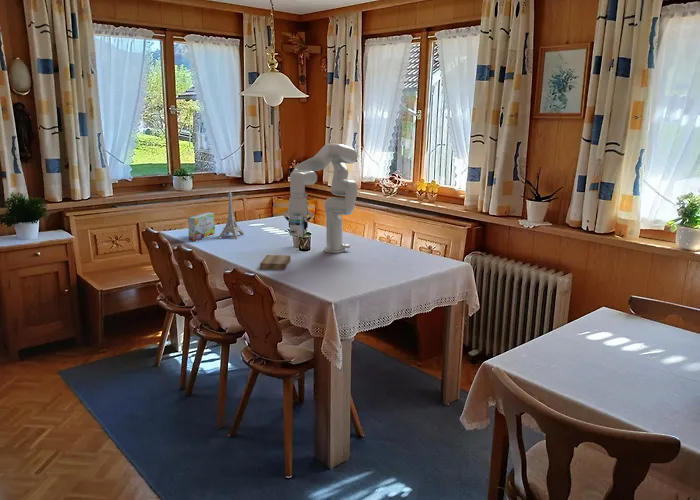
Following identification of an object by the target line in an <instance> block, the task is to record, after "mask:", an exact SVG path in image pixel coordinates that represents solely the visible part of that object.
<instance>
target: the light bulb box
mask: <svg viewBox="0 0 700 500" xmlns="http://www.w3.org/2000/svg"><path fill="white" fill-rule="evenodd" d="M288 217H289V219H290V228H289V236H290V237H291V236H292V237H303V236H304V235H306V234H307V232H308V231H307V229H308V228H307V229H306V230H305V227H304V223H305V220H304V218H303V215H290V216H288Z"/></svg>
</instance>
